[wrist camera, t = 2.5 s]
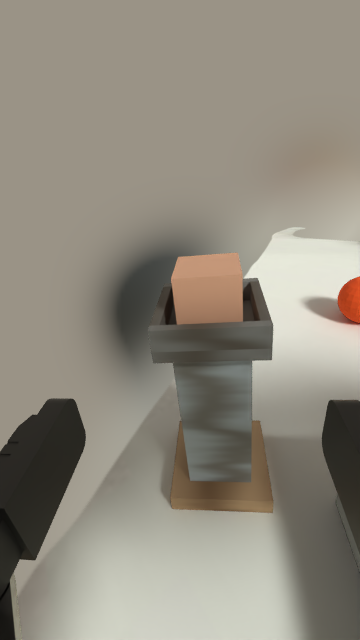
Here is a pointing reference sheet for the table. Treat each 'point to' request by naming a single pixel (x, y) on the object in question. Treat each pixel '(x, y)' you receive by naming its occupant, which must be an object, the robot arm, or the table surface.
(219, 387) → the grey pedestal column
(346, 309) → the clementine
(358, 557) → the block
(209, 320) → the cargo block
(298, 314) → the table surface
